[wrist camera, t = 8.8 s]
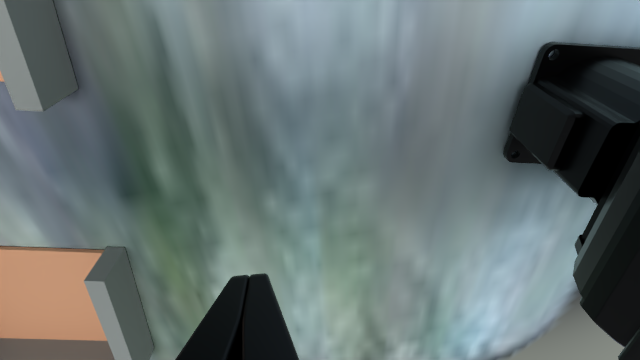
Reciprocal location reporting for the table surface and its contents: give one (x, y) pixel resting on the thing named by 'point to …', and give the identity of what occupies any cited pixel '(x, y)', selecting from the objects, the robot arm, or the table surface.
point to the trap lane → (57, 263)
